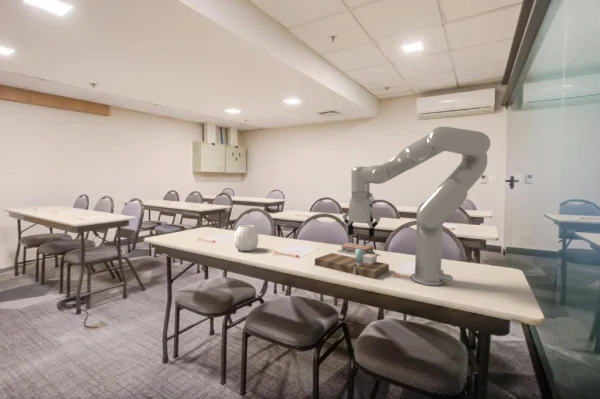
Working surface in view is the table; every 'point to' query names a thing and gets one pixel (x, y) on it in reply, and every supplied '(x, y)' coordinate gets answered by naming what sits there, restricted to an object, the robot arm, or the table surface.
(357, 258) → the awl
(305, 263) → the table surface
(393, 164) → the robot arm
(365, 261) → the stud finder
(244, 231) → the white faceted vase
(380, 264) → the subfloor panel
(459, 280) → the table surface
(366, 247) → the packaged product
